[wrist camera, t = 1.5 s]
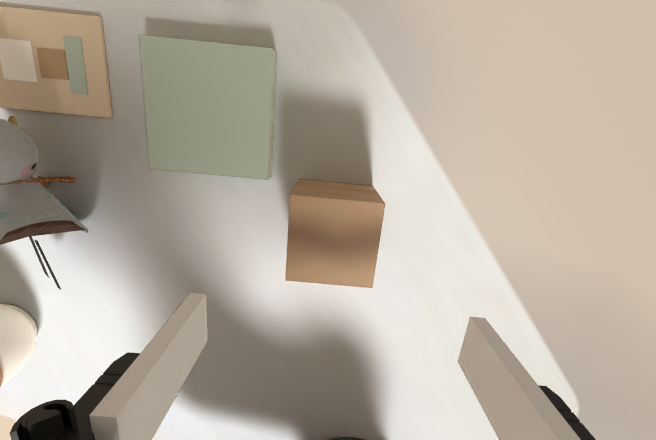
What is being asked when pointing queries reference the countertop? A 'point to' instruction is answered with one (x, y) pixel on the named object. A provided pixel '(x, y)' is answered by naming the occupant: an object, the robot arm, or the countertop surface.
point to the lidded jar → (15, 341)
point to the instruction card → (53, 62)
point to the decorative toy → (28, 192)
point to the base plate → (208, 106)
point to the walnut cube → (333, 233)
